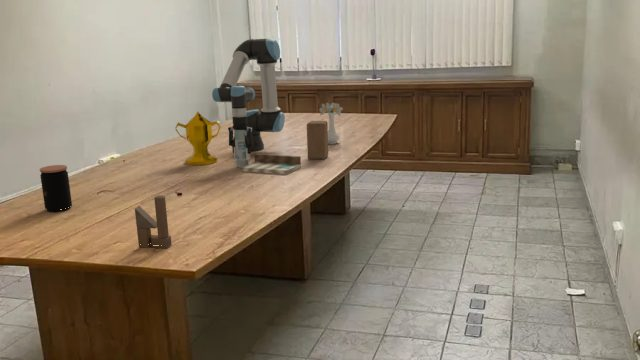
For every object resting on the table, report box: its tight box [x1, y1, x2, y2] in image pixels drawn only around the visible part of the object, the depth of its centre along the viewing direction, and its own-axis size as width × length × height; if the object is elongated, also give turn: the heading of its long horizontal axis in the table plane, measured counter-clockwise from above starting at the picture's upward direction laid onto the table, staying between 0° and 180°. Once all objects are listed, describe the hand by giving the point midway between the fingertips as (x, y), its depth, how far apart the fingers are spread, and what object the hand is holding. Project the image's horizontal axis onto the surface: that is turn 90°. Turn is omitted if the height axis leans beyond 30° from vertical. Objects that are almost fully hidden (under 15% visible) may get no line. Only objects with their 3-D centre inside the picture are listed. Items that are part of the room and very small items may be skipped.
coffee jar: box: [39, 164, 73, 213], centre depth 269 cm, size 11×11×18 cm
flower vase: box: [318, 102, 344, 145], centre depth 393 cm, size 13×18×25 cm
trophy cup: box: [175, 111, 222, 166], centre depth 350 cm, size 18×24×28 cm
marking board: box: [241, 153, 302, 175], centre depth 330 cm, size 26×16×6 cm, turn 67°
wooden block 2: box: [134, 195, 172, 249], centre depth 219 cm, size 4×11×18 cm, turn 80°
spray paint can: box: [233, 129, 249, 169], centre depth 336 cm, size 6×6×20 cm
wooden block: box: [306, 120, 329, 160], centre depth 353 cm, size 10×10×20 cm
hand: (242, 159), depth 338 cm, fingers closed on spray paint can, 6 cm apart
